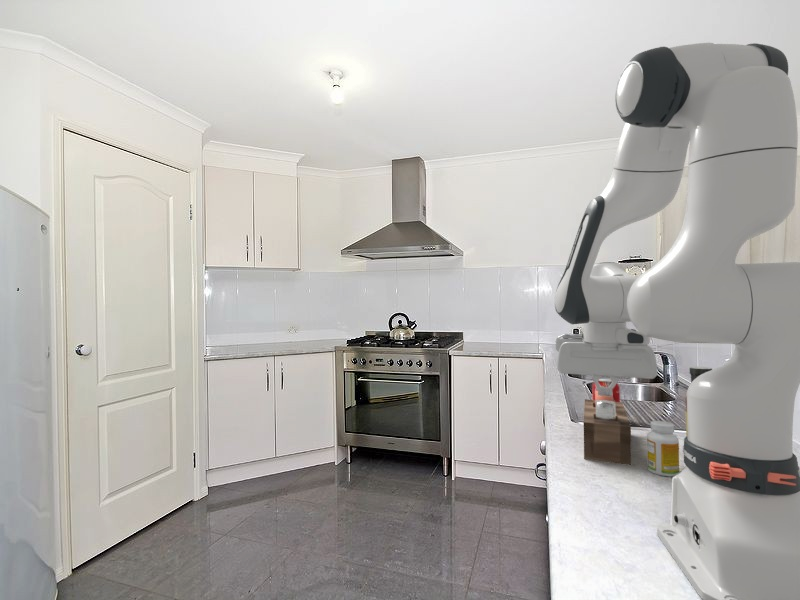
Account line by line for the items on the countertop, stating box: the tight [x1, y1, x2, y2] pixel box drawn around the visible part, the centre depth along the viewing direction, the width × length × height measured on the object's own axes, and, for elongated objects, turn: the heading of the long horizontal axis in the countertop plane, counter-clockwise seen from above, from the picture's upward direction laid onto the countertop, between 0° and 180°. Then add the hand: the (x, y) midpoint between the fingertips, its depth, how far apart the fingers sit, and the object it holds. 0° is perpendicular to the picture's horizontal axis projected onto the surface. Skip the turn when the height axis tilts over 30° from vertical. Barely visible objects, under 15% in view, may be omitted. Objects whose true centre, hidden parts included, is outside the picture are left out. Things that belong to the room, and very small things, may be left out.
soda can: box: [592, 377, 621, 402], centre depth 119 cm, size 7×7×12 cm
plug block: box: [583, 398, 632, 466], centre depth 98 cm, size 24×9×8 cm, turn 155°
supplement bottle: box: [646, 420, 680, 478], centre depth 82 cm, size 5×5×10 cm
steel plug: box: [596, 400, 616, 421], centre depth 93 cm, size 4×4×7 cm
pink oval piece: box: [595, 391, 613, 407], centre depth 104 cm, size 4×4×7 cm
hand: (605, 395), depth 93 cm, fingers closed
